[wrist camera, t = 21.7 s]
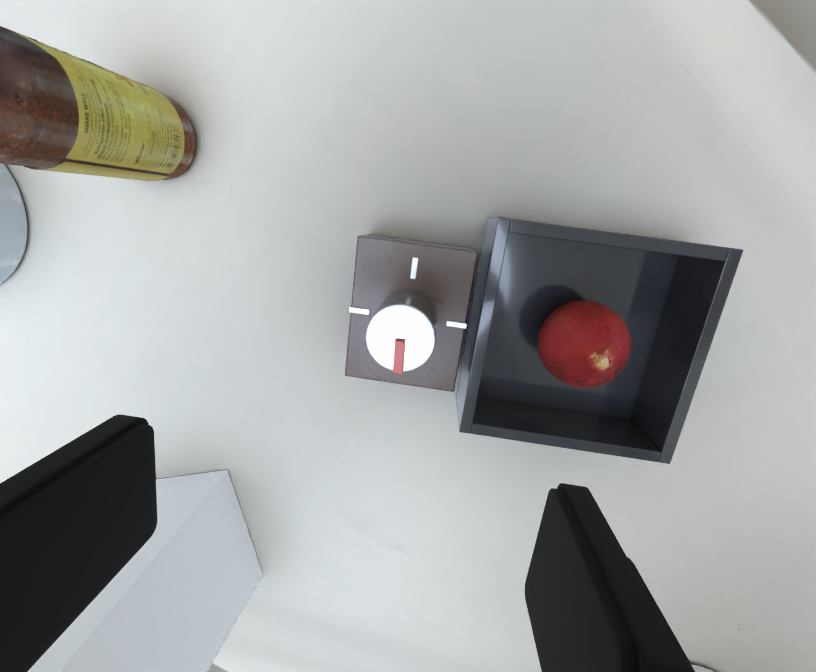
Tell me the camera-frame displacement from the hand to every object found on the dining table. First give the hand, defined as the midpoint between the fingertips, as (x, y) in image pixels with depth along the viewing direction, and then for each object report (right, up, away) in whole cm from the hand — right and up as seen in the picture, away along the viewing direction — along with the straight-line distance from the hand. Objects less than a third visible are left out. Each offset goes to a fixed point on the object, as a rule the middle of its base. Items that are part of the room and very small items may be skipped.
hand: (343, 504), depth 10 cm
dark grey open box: (+14, +5, +23) cm, 27 cm away
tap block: (+2, +6, +23) cm, 24 cm away
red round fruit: (+14, +4, +22) cm, 26 cm away
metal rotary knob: (+1, +5, +19) cm, 20 cm away
